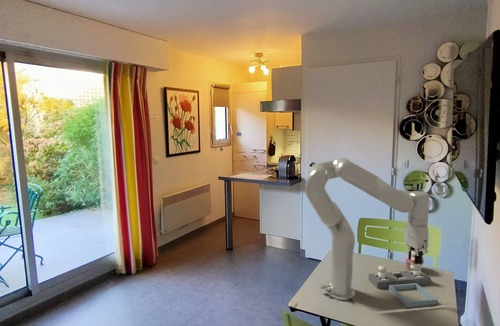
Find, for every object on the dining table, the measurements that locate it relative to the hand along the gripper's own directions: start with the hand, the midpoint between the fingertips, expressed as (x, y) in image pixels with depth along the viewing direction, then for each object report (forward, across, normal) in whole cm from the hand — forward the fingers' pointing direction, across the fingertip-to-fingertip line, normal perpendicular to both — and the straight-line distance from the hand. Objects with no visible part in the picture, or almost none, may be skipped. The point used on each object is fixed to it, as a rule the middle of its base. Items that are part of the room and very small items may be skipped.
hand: (415, 261), depth 139 cm
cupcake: (+18, -23, +17) cm, 33 cm away
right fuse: (+16, -13, +11) cm, 23 cm away
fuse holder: (+17, -13, +2) cm, 21 cm away
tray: (+17, 0, 0) cm, 17 cm away
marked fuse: (+4, 0, 0) cm, 4 cm away
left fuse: (+16, -13, -7) cm, 22 cm away
